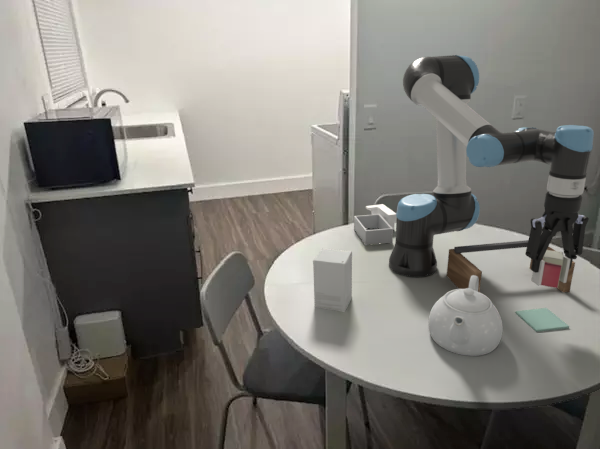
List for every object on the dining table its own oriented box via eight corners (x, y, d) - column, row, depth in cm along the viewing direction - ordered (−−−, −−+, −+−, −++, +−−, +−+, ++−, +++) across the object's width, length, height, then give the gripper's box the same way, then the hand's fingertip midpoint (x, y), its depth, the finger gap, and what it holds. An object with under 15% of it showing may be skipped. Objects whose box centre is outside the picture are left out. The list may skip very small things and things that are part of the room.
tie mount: (471, 302, 131) (475, 272, 127) (446, 276, 145) (449, 249, 142) (569, 291, 134) (575, 262, 131) (535, 267, 149) (539, 241, 146)
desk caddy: (365, 246, 169) (365, 231, 167) (353, 230, 184) (354, 216, 182) (392, 244, 170) (393, 228, 168) (378, 228, 185) (379, 214, 183)
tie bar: (457, 254, 138) (457, 246, 137) (453, 250, 140) (454, 243, 140) (547, 245, 142) (548, 238, 141) (542, 242, 144) (543, 235, 143)
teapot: (521, 351, 109) (530, 300, 105) (452, 367, 105) (458, 315, 100) (472, 311, 126) (477, 266, 121) (411, 324, 122) (414, 277, 117)
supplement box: (352, 298, 135) (353, 250, 129) (345, 313, 127) (345, 264, 122) (322, 293, 138) (322, 247, 132) (313, 308, 130) (312, 260, 124)
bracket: (382, 220, 194) (365, 222, 192) (383, 204, 191) (365, 206, 189) (396, 231, 182) (378, 233, 180) (397, 214, 179) (378, 216, 178)
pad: (535, 332, 116) (536, 329, 116) (515, 313, 125) (515, 311, 125) (568, 328, 118) (569, 326, 117) (546, 309, 126) (546, 307, 126)
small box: (539, 277, 120) (543, 248, 117) (558, 280, 118) (563, 251, 116) (538, 285, 116) (543, 256, 113) (558, 288, 114) (563, 259, 111)
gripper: (536, 201, 104) (522, 292, 112) (613, 194, 107) (594, 284, 115) (516, 191, 111) (504, 278, 119) (589, 186, 114) (573, 271, 122)
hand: (548, 281), depth 117 cm, fingers closed on small box, 6 cm apart
